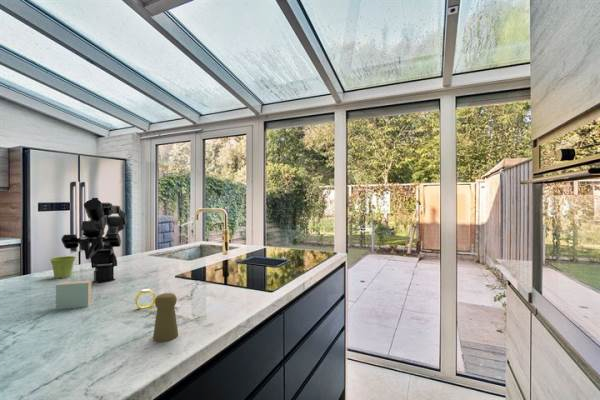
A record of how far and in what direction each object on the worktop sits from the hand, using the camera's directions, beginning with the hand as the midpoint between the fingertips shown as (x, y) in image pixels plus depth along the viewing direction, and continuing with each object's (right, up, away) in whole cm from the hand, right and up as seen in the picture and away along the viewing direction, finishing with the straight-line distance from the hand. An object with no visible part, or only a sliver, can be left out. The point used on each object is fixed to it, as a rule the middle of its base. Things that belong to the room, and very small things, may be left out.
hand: (87, 258), depth 114 cm
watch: (+28, -14, -13) cm, 34 cm away
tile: (+4, -14, -12) cm, 19 cm away
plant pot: (-30, -14, +27) cm, 43 cm away
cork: (+44, -14, -34) cm, 57 cm away
